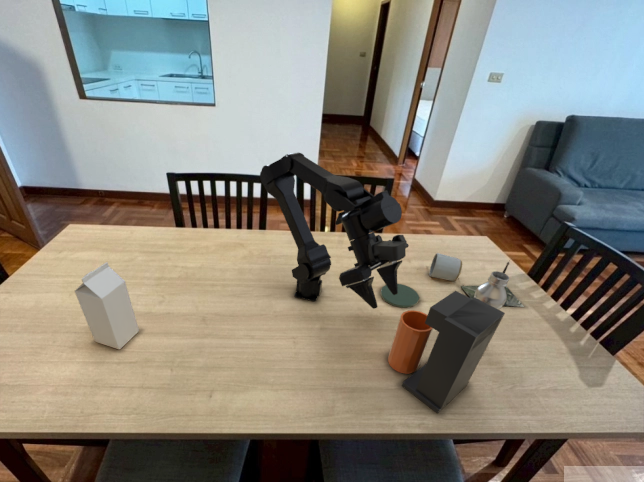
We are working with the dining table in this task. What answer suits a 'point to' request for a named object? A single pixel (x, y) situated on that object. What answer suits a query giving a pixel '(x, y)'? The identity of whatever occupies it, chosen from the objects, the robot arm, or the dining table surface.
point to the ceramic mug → (445, 267)
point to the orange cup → (409, 342)
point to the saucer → (400, 296)
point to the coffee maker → (453, 348)
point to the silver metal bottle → (493, 290)
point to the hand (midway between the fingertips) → (385, 301)
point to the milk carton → (107, 307)
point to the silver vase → (511, 298)
